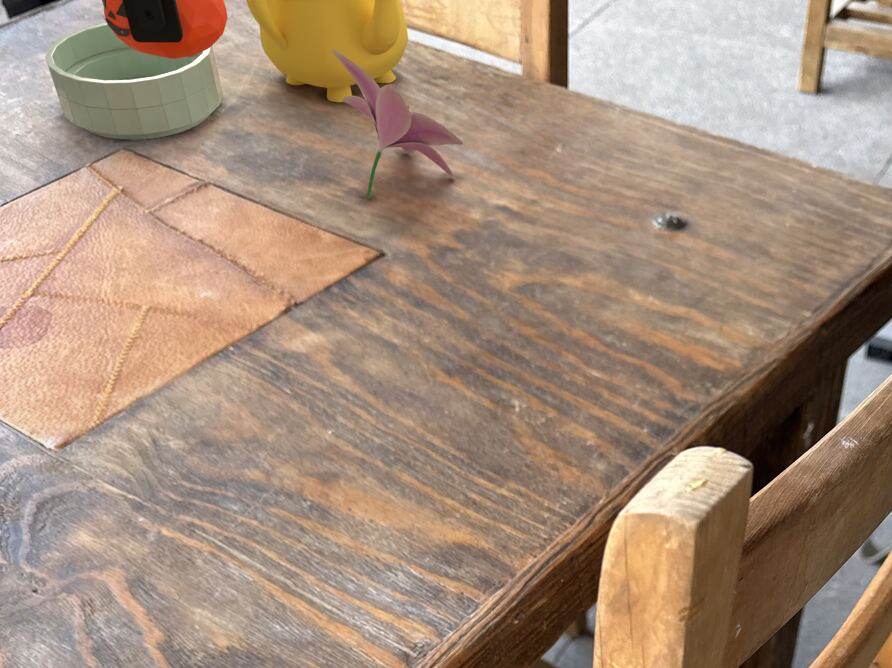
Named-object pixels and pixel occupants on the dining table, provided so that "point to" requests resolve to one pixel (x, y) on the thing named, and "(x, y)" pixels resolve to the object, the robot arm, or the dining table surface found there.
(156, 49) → the pumpkin
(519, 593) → the dining table surface
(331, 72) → the yellow rounded piece
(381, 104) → the lily
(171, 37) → the robot arm
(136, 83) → the bowl
